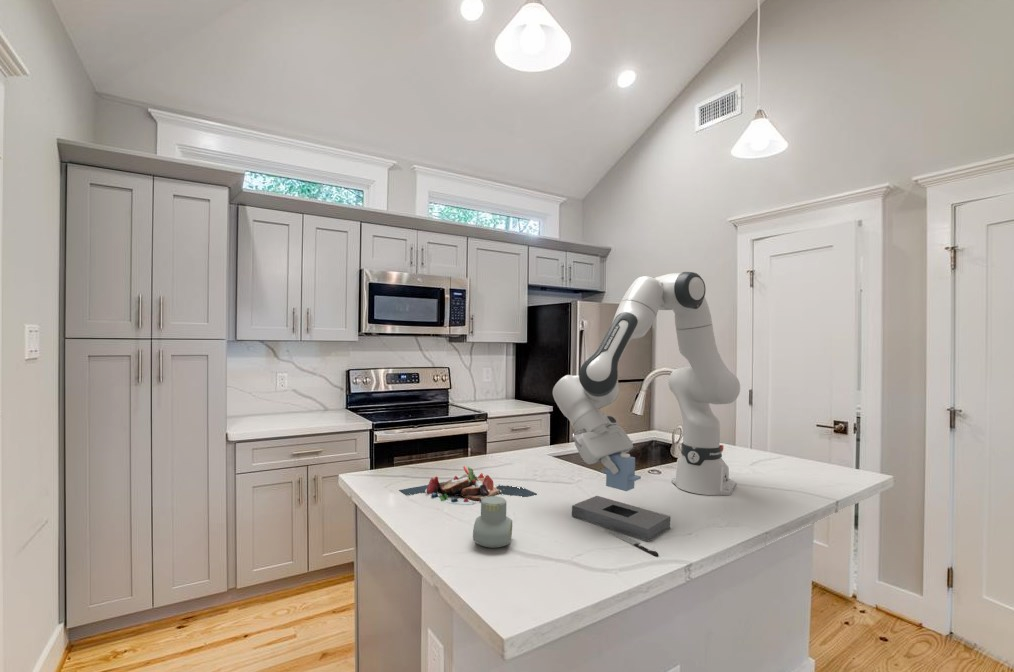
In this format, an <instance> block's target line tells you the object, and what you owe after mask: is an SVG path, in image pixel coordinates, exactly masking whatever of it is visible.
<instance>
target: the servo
mask: <svg viewBox="0 0 1014 672" xmlns="http://www.w3.org/2000/svg"><path fill="white" fill-rule="evenodd" d="M608 456H609V457H610V458H611V459H610V460H611V461H612V462H613V463H614V464H615V465H618V467H619V468H620V472H618V473H617V474H613V473H612V472H611V470H610V469H608V468H607V467H605V468H604V469H600V474H601V473H602V474H605V477H606V478H605V479H606V481H605V486H606V487H608V488H612V489H616V490H620V491H624V492H628V491H631V490H633V489H635V482H636V481H639V480H641V479H642V476H640V475H638V474H637V475H636V472H635V471H636V457H634V456H631V454H630V453H628V452H627V453H621V454H617V453H614V454H611V455H608Z"/></svg>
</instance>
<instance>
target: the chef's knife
mask: <svg viewBox="0 0 1014 672" xmlns="http://www.w3.org/2000/svg"><path fill="white" fill-rule="evenodd" d="M603 532H605V533H608V534H609V535H610V536H611V535H612V536H613V537H615V538H617V539H619V540H621V541H624V542H625V543H627V544H628V545H631V546H633V547H636V548H637V549H640V550H642V551H644V552H646V553H647V554H650V555H652V556H654V557H659V553H658V552H657V551H655V550H651V549H649V548H646V547H645V546H643V545H641V542H640V541H637V540H635V539H633V538H631V537H629V536H627V535H626V536H625V534H622V533H619V532H616V531H612V530H611V531H610V530H606V529H604V530H603Z"/></svg>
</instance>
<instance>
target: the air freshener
mask: <svg viewBox="0 0 1014 672" xmlns="http://www.w3.org/2000/svg"><path fill="white" fill-rule="evenodd" d="M472 531H473V532H472V540H473V541H474V542H475V543H476V544H478V545H480V546H482V547H485V548H490V549H493V548H494V549H496V548H497V549H498V548H501V547H502V548H503V547H505V546H506V545H509V544H510V543H511V542H512V541H511V540H512V537H513V536H512V534H513V520H512V519H511V518H510V517H509V516H508V515H507V500H506V499H505V498H504V497H503V496H498V495H496V496H490V497H485V498H483V499H482V500H481V503H480V516H478V517H476V519H475V521H474V523H473V530H472Z"/></svg>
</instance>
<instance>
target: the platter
mask: <svg viewBox="0 0 1014 672" xmlns="http://www.w3.org/2000/svg"><path fill="white" fill-rule="evenodd" d="M463 469H464V472H465V473H466V474H462V475H455V476H454V477H453V478H452V479H449V480H447V481H442V482H440V481H439V477H438V476H437V475H436V476H435V477H434V478H433V477H431V478H430V479H429V482H428V484H427V485H425V484H424V485H421V486H414V487H408V488H404V489H403V488H402V489H399V490H398V491H399V493H401V494H403V495H405V496H406V497H408V498H409V497H410V496H414V495H417V494H419V495H420V494H421V495H422V494H425V496H426V497H429V498H430V499H432V500H438V501H440V502H443V503H448V504H451V505H460V506H464V505H465V506H472V505H476V504H477V502H478V503H479V504H481V500H482V499H483V498H485V497H490V496H499V495H500V496H501V497H503V496H509V497H511V496H513V497H514V496H515V497H521V496H522V498H529V497H533V496H534V495H535V496H538V495H537V494H538V493H536V492H534V491H532V490H530V489H527V488H525V487H523V486H519V487H520V489H519V488H517V487H518V486H516V487H512V486H513V485H508V484H507V485H502V484H500V483H498V485H497V484H494V480H493V479H492V478H491V476H489V475H488V474H486V475H484V473H483V472H482V473H480V474H479V475H478V477H477V476H476V474H475V473H474V470H473V468H471V467H469V466H467V467H466V466H465V465H464V466H463ZM483 475H484V476H483ZM522 487H523V488H524V489H523V488H522ZM438 494H439V495H438ZM456 496H457V497H456ZM458 496H460V497H462V498H463V501H459V500H458V499H459V497H458ZM449 497H450V498H451V497H452V498H451V500H449ZM469 501H472V502H469Z"/></svg>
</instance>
